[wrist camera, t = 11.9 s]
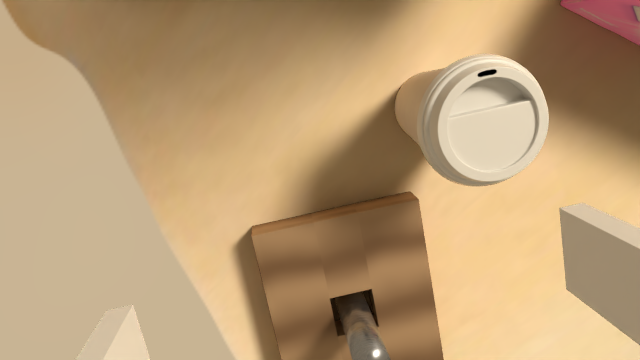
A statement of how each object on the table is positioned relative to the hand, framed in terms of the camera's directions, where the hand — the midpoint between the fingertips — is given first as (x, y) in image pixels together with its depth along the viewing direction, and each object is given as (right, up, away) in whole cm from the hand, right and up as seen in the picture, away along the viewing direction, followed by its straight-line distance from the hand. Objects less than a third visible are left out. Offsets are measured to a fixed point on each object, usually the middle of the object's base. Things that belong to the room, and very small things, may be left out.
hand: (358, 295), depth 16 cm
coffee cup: (+9, +11, +35) cm, 37 cm away
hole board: (+2, -9, +38) cm, 39 cm away
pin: (+2, -9, +38) cm, 39 cm away
